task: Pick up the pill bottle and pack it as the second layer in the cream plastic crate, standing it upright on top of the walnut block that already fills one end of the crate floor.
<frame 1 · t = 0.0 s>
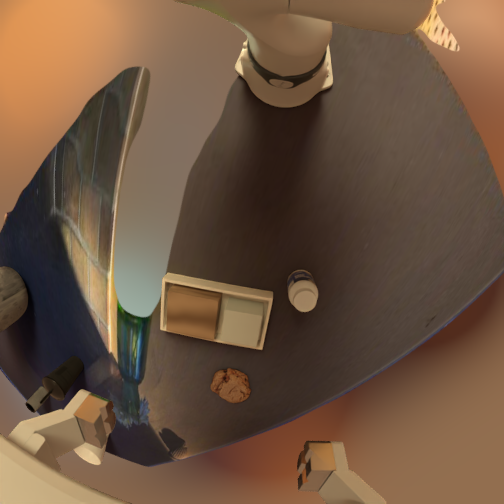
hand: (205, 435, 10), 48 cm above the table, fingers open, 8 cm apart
drinking cup: (77, 362, 70), on the table
cookie: (232, 383, 67), on the table
walnut block: (196, 306, 61), point 1 cm above the table, touching crate
crate: (215, 308, 61), on the table
vase: (19, 286, 65), on the table
pill bottle: (300, 281, 59), on the table
planter: (45, 391, 76), on the table
cup: (102, 428, 77), on the table
pale green block: (243, 314, 61), point 1 cm above the table, touching crate
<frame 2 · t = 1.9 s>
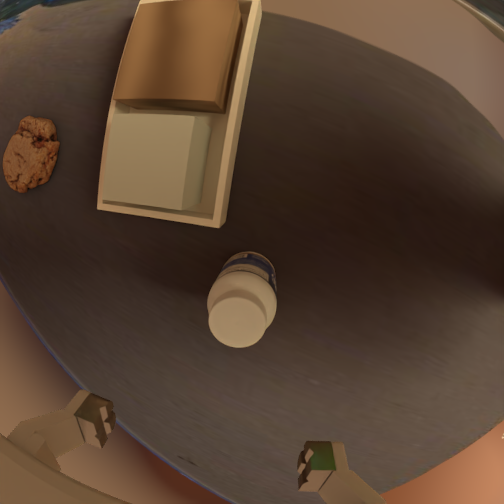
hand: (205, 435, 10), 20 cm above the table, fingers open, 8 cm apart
cookie: (35, 155, 28), on the table
walnut block: (188, 63, 24), point 1 cm above the table, touching crate
crate: (182, 102, 25), on the table
pill bottle: (249, 276, 29), on the table
pale green block: (170, 161, 26), point 1 cm above the table, touching crate
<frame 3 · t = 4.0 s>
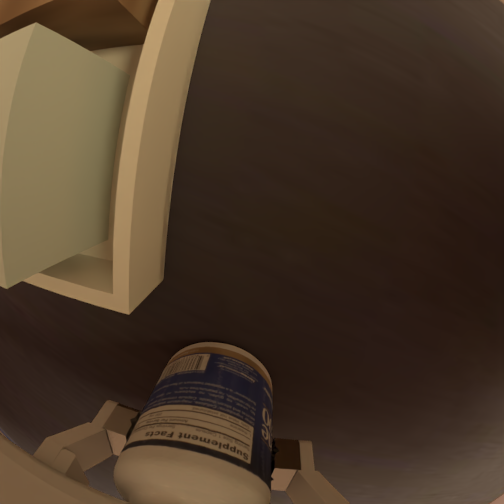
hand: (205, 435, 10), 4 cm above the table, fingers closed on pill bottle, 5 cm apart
crate: (88, 40, 10), on the table
pill bottle: (219, 380, 14), on the table, touching gripper
pale green block: (55, 154, 11), point 1 cm above the table, touching crate
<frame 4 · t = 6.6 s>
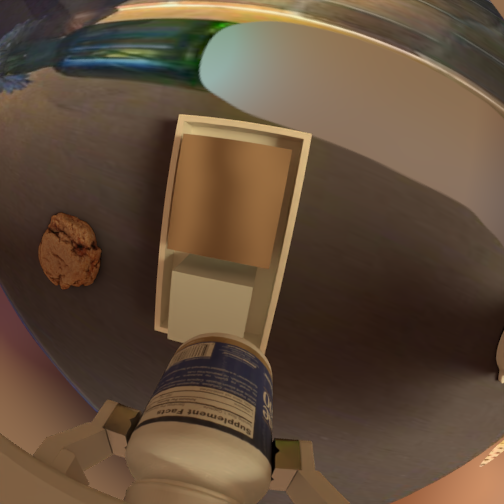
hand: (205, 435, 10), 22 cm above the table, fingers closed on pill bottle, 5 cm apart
cookie: (72, 251, 33), on the table
walnut block: (234, 196, 29), point 1 cm above the table, touching crate
crate: (228, 234, 30), on the table
pill bottle: (223, 369, 15), point 17 cm above the table, touching gripper
pale green block: (219, 290, 31), point 1 cm above the table, touching crate
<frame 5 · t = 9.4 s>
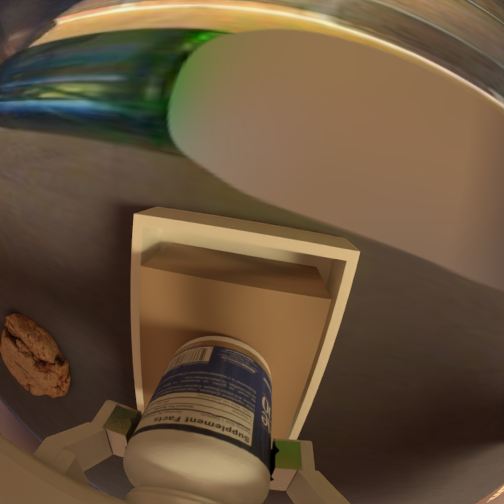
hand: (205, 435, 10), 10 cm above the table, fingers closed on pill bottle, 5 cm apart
cookie: (38, 354, 23), on the table
walnut block: (232, 326, 19), point 1 cm above the table, touching crate, pill bottle
crate: (226, 367, 21), on the table
pill bottle: (221, 372, 15), point 5 cm above the table, touching gripper, walnut block
when the fingers open (10 cm above the table, at t = 10.0 s): pill bottle stays where it is, resting on walnut block.
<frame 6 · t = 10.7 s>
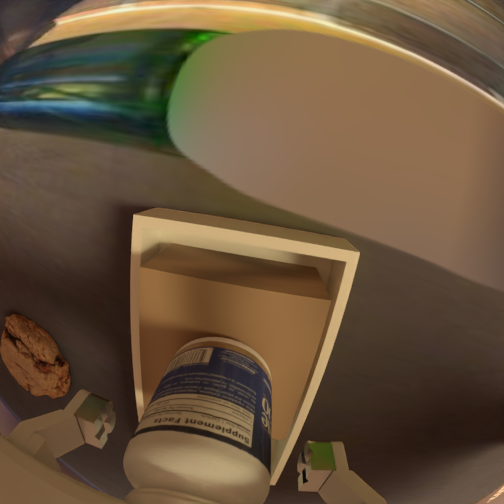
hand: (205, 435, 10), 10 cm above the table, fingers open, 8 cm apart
cookie: (38, 354, 23), on the table
walnut block: (232, 327, 19), point 1 cm above the table, touching crate, pill bottle
crate: (226, 367, 21), on the table
pill bottle: (221, 373, 15), point 5 cm above the table, touching walnut block
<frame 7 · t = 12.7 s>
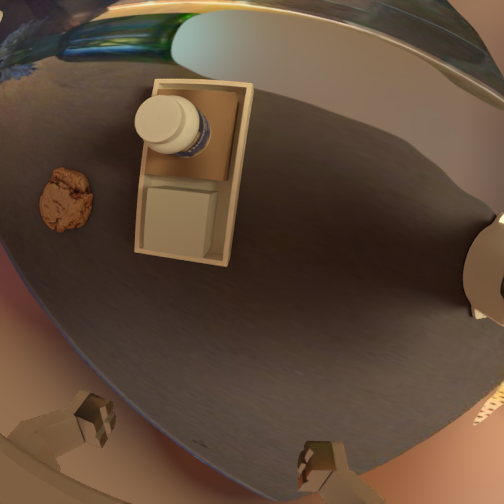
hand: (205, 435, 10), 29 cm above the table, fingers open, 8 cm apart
cookie: (69, 200, 38), on the table
walnut block: (198, 137, 34), point 1 cm above the table, touching crate, pill bottle
crate: (194, 168, 36), on the table
pill bottle: (188, 134, 30), point 5 cm above the table, touching walnut block
pale green block: (188, 215, 37), point 1 cm above the table, touching crate
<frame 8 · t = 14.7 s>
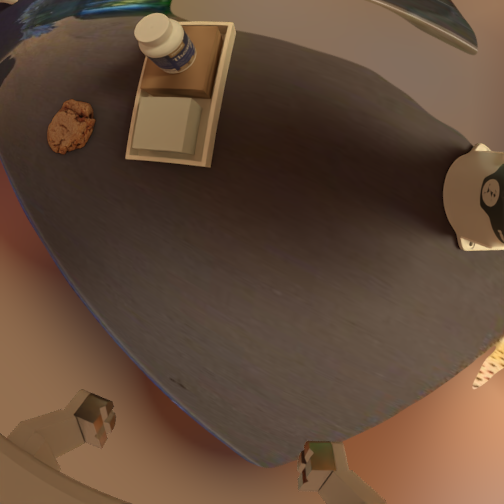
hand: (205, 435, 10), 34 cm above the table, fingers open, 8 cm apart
cookie: (73, 128, 40), on the table
walnut block: (187, 67, 36), point 1 cm above the table, touching crate, pill bottle
crate: (183, 92, 38), on the table
pill bottle: (178, 57, 32), point 5 cm above the table, touching walnut block
pale green block: (175, 129, 39), point 1 cm above the table, touching crate
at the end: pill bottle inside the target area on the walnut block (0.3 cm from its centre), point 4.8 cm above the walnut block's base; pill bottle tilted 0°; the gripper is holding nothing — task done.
